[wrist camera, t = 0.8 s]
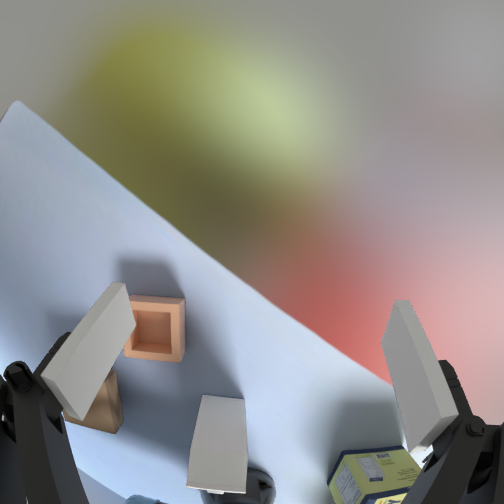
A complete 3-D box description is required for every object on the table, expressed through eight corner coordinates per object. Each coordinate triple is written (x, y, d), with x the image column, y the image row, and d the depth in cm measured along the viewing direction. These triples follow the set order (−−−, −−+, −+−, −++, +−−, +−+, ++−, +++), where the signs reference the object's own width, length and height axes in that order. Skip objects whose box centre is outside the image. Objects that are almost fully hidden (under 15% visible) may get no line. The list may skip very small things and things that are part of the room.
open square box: (186, 350, 44) (180, 362, 39) (135, 345, 44) (124, 356, 39) (185, 297, 44) (179, 304, 39) (132, 294, 44) (121, 300, 39)
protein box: (385, 477, 47) (412, 517, 32) (325, 483, 47) (344, 532, 31) (403, 444, 47) (437, 484, 32) (341, 449, 46) (367, 500, 31)
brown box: (123, 420, 41) (115, 434, 37) (75, 409, 41) (65, 420, 36) (116, 370, 41) (105, 382, 36) (66, 361, 40) (53, 370, 36)
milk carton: (202, 393, 45) (185, 468, 26) (245, 398, 45) (249, 475, 26) (200, 426, 45) (185, 502, 26) (240, 430, 45) (242, 508, 26)
